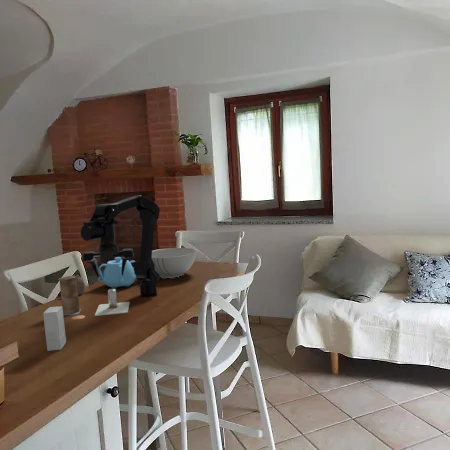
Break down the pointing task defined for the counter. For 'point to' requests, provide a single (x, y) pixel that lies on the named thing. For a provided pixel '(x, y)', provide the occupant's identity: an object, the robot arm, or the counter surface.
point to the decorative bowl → (173, 261)
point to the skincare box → (54, 328)
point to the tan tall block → (69, 294)
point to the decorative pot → (117, 273)
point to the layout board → (105, 310)
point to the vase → (80, 285)
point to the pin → (112, 298)
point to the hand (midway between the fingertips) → (110, 276)
